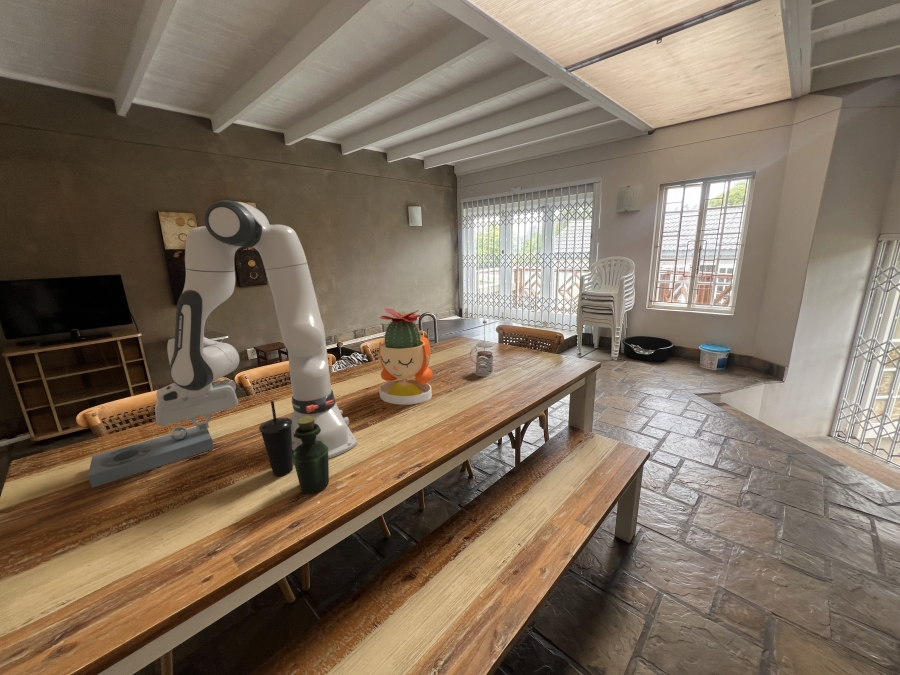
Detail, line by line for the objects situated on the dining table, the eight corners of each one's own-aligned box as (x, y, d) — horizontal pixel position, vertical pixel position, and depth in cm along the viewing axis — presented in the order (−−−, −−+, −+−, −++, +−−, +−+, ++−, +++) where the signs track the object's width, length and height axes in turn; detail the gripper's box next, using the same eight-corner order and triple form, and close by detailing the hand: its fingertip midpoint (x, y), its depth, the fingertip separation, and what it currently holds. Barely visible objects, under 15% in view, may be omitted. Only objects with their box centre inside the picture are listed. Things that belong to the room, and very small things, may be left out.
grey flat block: (207, 434, 113) (205, 424, 112) (213, 448, 104) (211, 438, 103) (95, 467, 96) (92, 456, 96) (91, 488, 88) (87, 476, 87)
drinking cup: (278, 483, 88) (266, 410, 83) (261, 474, 92) (248, 403, 87) (304, 467, 94) (295, 399, 89) (287, 459, 98) (277, 393, 93)
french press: (496, 376, 158) (496, 322, 152) (470, 376, 158) (470, 322, 152) (493, 369, 168) (494, 318, 162) (469, 369, 168) (469, 318, 162)
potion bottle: (336, 474, 91) (328, 411, 86) (326, 496, 83) (317, 427, 78) (304, 476, 91) (295, 412, 86) (291, 497, 83) (281, 428, 78)
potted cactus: (422, 407, 129) (418, 314, 120) (369, 400, 136) (362, 311, 127) (442, 386, 148) (439, 304, 140) (395, 381, 155) (390, 303, 147)
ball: (189, 439, 103) (186, 427, 102) (172, 444, 101) (169, 431, 100) (187, 434, 106) (185, 422, 105) (171, 439, 104) (168, 426, 103)
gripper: (232, 375, 112) (239, 414, 116) (149, 392, 99) (160, 436, 103) (236, 380, 108) (243, 420, 111) (150, 399, 95) (161, 444, 98)
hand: (203, 428), depth 107 cm, fingers closed
